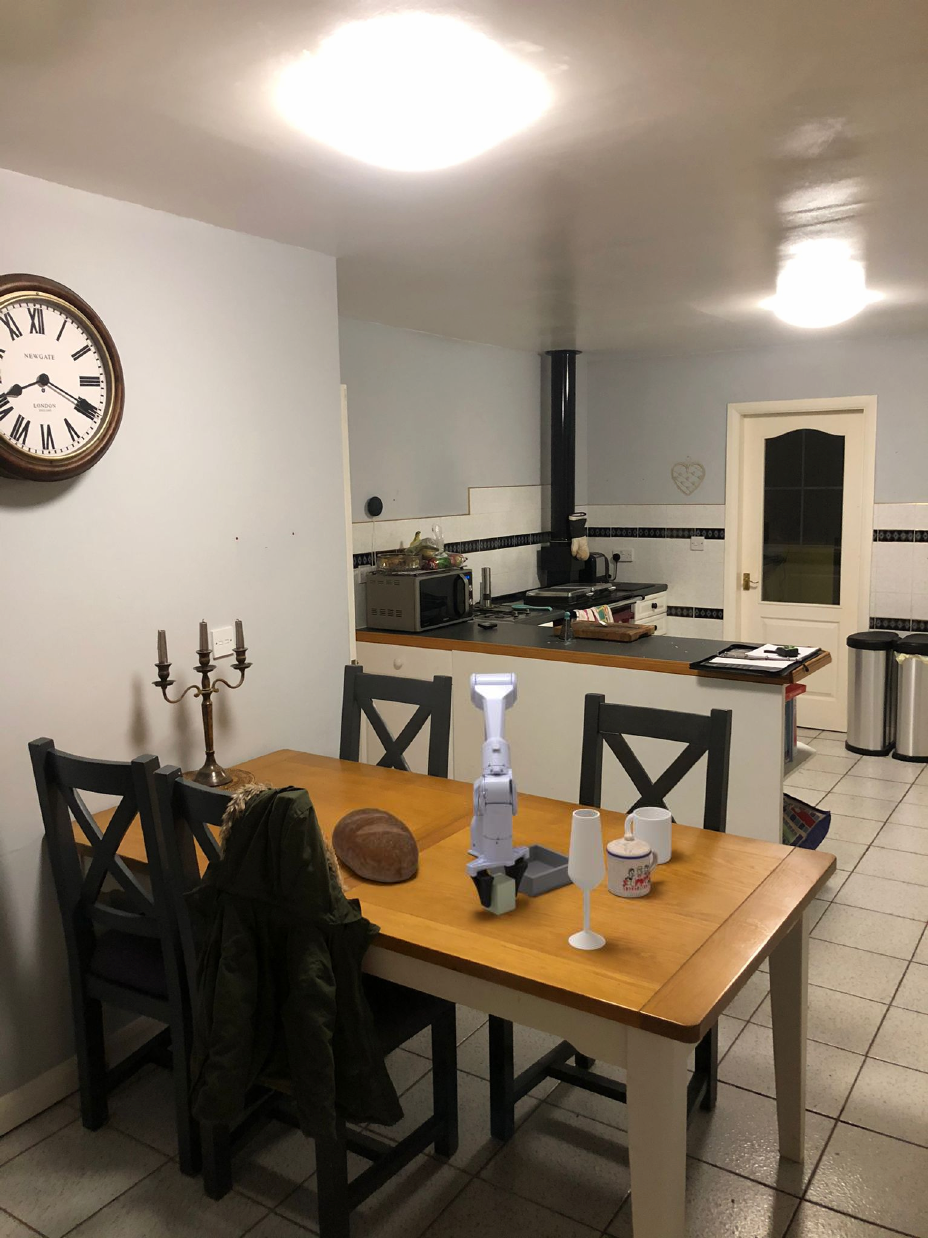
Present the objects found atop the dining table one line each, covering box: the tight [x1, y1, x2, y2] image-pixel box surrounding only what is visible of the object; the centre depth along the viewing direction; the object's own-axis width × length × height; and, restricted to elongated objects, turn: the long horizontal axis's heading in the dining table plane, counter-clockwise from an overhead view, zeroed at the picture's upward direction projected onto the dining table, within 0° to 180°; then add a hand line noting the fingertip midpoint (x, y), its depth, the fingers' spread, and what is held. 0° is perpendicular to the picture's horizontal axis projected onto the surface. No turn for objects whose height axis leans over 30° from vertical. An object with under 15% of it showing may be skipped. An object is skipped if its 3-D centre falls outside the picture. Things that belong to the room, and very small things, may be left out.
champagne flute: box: [568, 808, 606, 951], centre depth 171 cm, size 7×7×24 cm
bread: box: [331, 807, 420, 884], centre depth 212 cm, size 16×29×11 cm, turn 28°
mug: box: [624, 806, 672, 865], centre depth 211 cm, size 12×8×10 cm
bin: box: [489, 842, 574, 898], centre depth 201 cm, size 14×14×4 cm
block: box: [482, 873, 516, 916], centre depth 187 cm, size 4×4×6 cm
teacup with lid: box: [605, 833, 658, 899], centre depth 194 cm, size 12×9×12 cm
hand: (499, 901), depth 187 cm, fingers open, 6 cm apart
